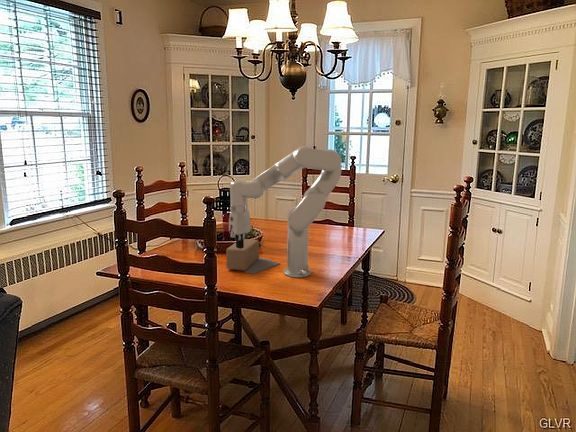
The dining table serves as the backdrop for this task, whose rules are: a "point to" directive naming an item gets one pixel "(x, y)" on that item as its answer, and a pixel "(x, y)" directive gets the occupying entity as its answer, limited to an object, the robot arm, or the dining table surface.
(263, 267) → the mat
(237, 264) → the wooden block
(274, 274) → the dining table surface
